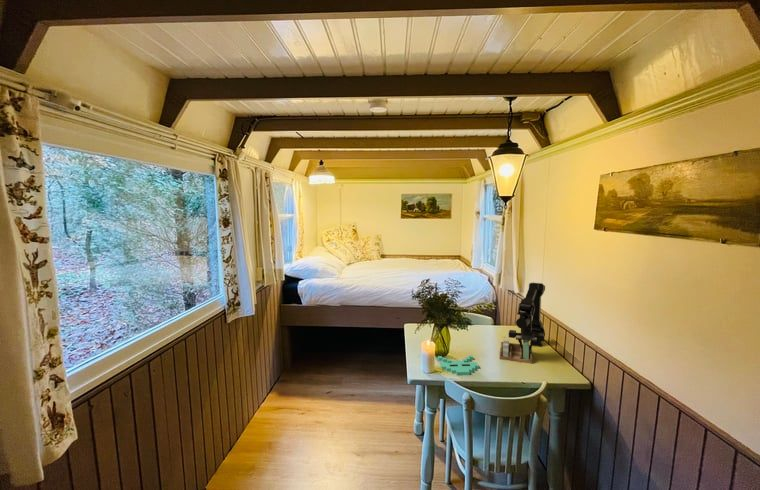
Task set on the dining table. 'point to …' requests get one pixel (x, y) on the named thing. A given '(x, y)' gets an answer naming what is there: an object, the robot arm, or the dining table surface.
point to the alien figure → (459, 365)
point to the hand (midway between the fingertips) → (525, 349)
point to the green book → (525, 349)
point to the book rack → (513, 352)
